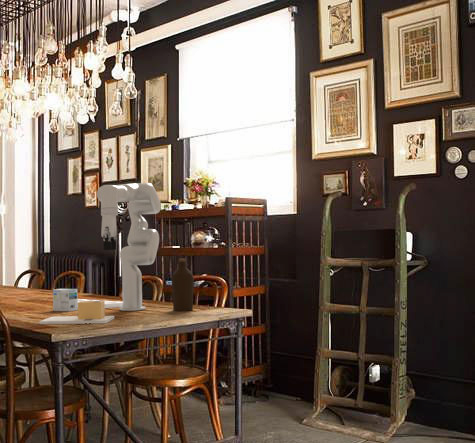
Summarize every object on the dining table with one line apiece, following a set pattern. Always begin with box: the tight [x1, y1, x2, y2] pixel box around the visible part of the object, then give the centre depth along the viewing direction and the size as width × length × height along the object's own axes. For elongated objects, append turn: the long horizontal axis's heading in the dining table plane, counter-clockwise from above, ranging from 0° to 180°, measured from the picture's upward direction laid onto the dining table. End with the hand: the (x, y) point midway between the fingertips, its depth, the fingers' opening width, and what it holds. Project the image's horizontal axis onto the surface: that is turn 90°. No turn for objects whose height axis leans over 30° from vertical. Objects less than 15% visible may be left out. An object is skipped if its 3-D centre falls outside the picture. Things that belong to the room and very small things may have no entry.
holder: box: [78, 298, 123, 309], centre depth 346 cm, size 45×18×3 cm, turn 39°
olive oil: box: [171, 258, 195, 312], centre depth 312 cm, size 11×11×25 cm
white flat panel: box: [39, 315, 115, 325], centre depth 277 cm, size 16×28×1 cm, turn 88°
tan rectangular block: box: [77, 300, 106, 319], centre depth 276 cm, size 6×10×7 cm, turn 88°
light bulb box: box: [52, 288, 79, 312], centre depth 320 cm, size 11×7×11 cm, turn 65°
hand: (110, 249), depth 291 cm, fingers open, 9 cm apart
